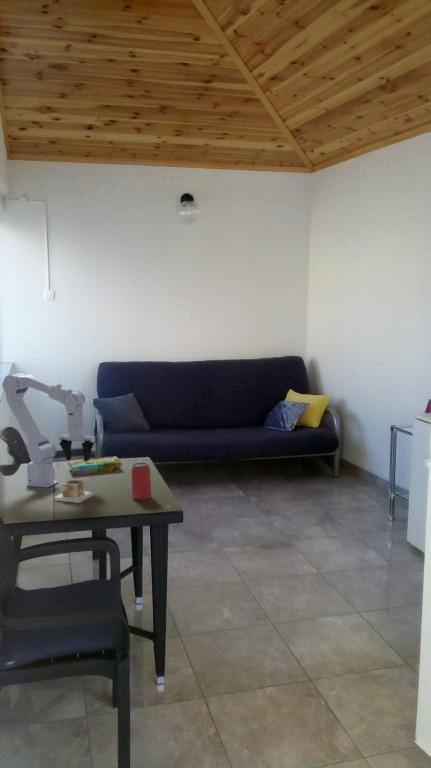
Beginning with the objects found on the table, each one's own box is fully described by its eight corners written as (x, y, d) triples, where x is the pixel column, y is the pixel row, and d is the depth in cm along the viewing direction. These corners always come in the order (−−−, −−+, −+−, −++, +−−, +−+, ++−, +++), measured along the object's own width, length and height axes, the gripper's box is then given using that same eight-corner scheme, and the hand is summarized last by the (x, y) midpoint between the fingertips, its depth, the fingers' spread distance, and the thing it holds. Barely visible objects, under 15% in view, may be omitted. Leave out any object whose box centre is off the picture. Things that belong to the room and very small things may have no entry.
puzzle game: (68, 459, 277) (116, 454, 283) (68, 470, 277) (116, 465, 284) (71, 465, 266) (121, 460, 272) (72, 477, 266) (122, 471, 273)
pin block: (54, 500, 234) (53, 487, 234) (68, 493, 243) (67, 480, 242) (79, 502, 231) (78, 489, 230) (92, 495, 239) (92, 482, 239)
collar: (62, 496, 235) (61, 483, 234) (71, 491, 240) (70, 479, 240) (76, 497, 233) (75, 485, 232) (84, 493, 238) (84, 480, 238)
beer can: (151, 499, 232) (150, 466, 231) (132, 501, 231) (131, 467, 230) (150, 494, 239) (149, 461, 237) (132, 495, 238) (130, 462, 236)
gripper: (52, 425, 246) (55, 461, 248) (87, 427, 241) (89, 463, 243) (63, 422, 252) (65, 457, 254) (97, 423, 248) (99, 459, 249)
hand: (77, 460), depth 249 cm, fingers open, 7 cm apart
